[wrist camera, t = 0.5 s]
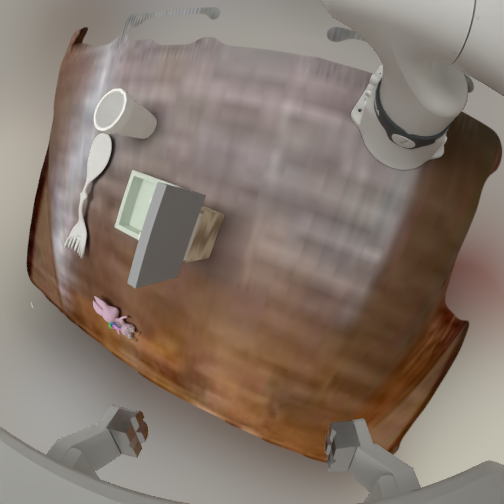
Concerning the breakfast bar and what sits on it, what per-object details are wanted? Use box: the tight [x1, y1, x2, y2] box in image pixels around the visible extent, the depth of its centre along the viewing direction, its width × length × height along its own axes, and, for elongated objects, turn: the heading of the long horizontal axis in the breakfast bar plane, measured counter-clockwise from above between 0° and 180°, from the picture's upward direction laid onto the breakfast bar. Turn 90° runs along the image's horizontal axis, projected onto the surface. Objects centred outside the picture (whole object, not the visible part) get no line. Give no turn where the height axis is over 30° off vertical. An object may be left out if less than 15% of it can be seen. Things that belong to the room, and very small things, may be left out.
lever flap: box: [128, 182, 206, 288], centre depth 41 cm, size 9×14×12 cm, turn 158°
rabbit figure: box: [93, 296, 140, 342], centre depth 61 cm, size 6×6×15 cm
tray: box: [115, 170, 189, 240], centre depth 56 cm, size 13×13×4 cm
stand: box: [183, 206, 225, 262], centre depth 51 cm, size 9×9×9 cm
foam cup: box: [94, 89, 157, 139], centre depth 52 cm, size 10×9×13 cm
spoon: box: [64, 133, 112, 258], centre depth 63 cm, size 9×32×4 cm, turn 161°
